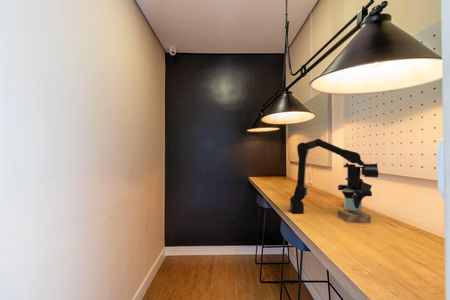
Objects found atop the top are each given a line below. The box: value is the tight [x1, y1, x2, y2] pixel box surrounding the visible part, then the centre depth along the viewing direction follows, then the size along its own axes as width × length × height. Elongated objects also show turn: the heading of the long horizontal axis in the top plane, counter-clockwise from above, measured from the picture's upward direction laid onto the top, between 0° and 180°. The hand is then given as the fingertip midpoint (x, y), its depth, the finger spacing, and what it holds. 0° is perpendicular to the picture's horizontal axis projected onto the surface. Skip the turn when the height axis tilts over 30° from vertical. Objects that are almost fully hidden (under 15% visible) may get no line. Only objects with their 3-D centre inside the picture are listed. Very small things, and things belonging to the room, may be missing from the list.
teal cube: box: [346, 198, 363, 211], centre depth 114 cm, size 5×5×5 cm
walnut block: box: [337, 209, 372, 224], centre depth 114 cm, size 11×10×4 cm
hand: (353, 206), depth 114 cm, fingers closed on teal cube, 5 cm apart
